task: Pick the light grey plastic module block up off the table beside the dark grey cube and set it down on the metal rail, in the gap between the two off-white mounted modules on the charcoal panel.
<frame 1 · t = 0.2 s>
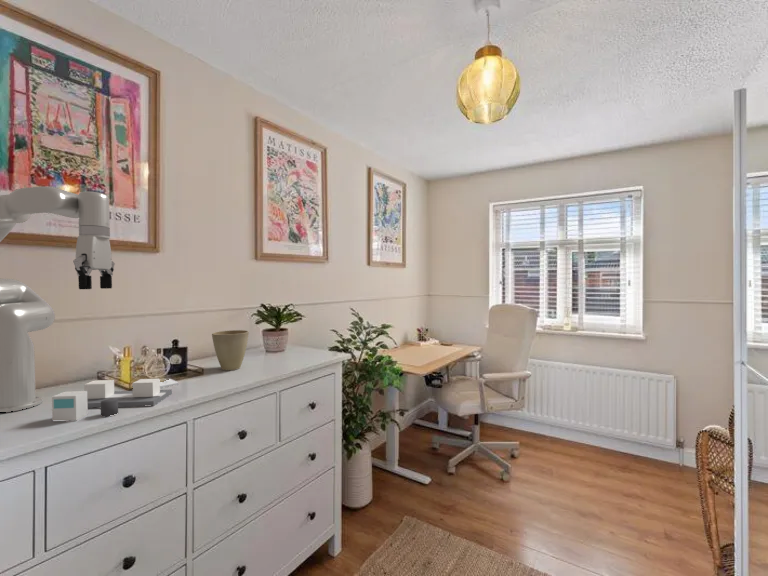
hand: (96, 288, 113), 36 cm above the table, tool pointing down, fingers open, 9 cm apart
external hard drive: (155, 388, 133), on the table
rail board: (123, 401, 117), on the table
module: (70, 418, 103), on the table
plant pot: (230, 368, 160), on the table
dark grey cube: (109, 414, 106), on the table
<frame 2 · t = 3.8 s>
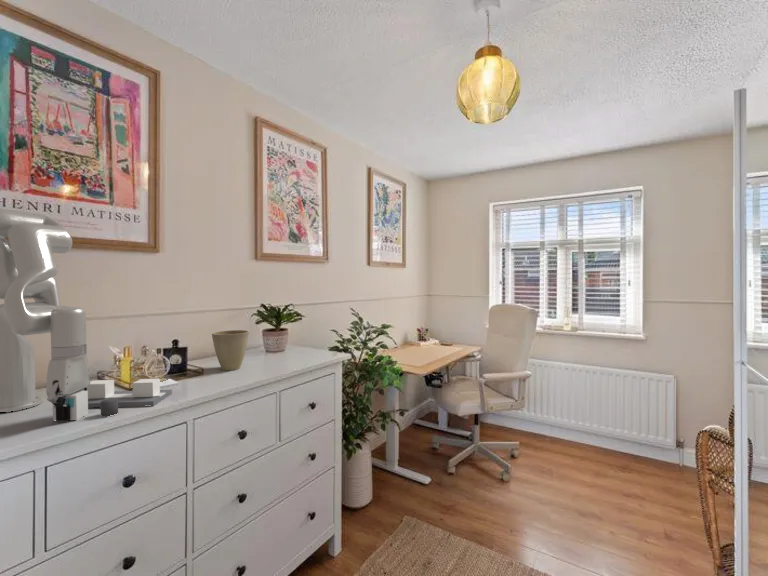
hand: (70, 416, 103), 1 cm above the table, tool pointing down, fingers closed on module, 4 cm apart
module: (70, 418, 103), on the table, touching gripper
everything else where it was.
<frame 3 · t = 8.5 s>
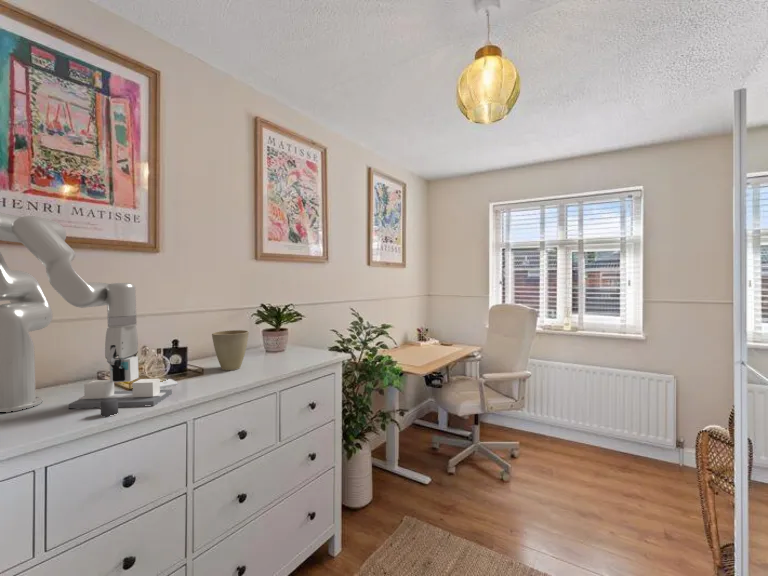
hand: (124, 378, 117), 7 cm above the table, tool pointing down, fingers closed on module, 4 cm apart
module: (124, 379, 117), point 7 cm above the table, touching gripper
everything else where it was.
when the fingers open (4 cm above the table, at t = 10.0 s): module drops 1 cm, resting on rail board.
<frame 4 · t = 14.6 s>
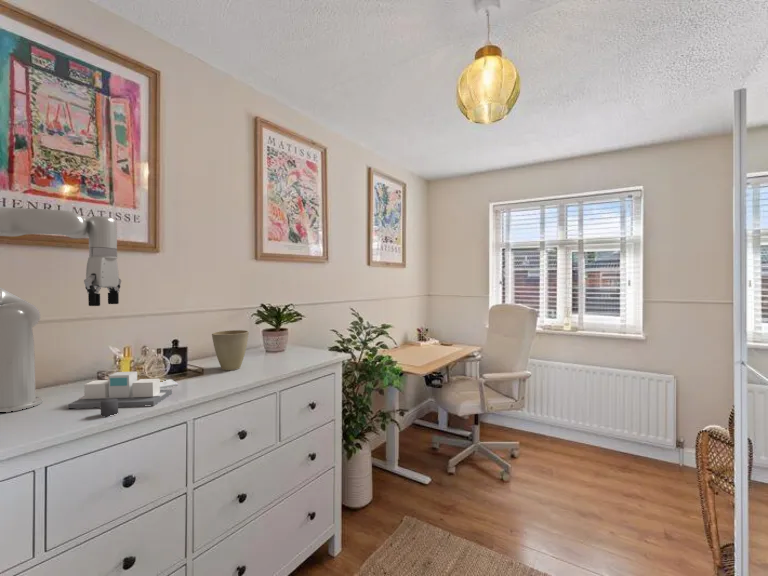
hand: (104, 304, 123), 30 cm above the table, tool pointing down, fingers open, 9 cm apart
module: (123, 395, 117), point 2 cm above the table, touching rail board
everything else where it was.
at the end: module 0.1 cm off-centre on the rail board, point 1.8 cm above the rail board's base; module tilted 0°; the gripper is holding nothing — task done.
